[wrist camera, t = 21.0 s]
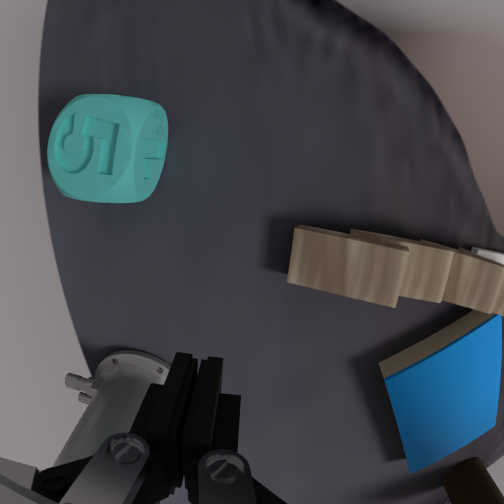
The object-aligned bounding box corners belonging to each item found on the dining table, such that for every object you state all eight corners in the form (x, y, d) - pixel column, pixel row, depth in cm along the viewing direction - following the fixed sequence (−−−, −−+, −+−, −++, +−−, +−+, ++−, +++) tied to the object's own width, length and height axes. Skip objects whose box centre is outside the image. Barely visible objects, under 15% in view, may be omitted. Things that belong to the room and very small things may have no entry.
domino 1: (287, 282, 29) (395, 308, 25) (294, 227, 27) (409, 252, 23) (293, 275, 30) (395, 299, 27) (300, 224, 29) (408, 246, 25)
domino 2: (341, 285, 29) (440, 303, 25) (350, 232, 27) (454, 252, 24) (342, 278, 30) (436, 295, 27) (351, 228, 29) (448, 246, 26)
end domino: (466, 292, 29) (516, 297, 29) (478, 249, 28) (527, 259, 28) (457, 286, 31) (508, 291, 31) (468, 245, 30) (518, 255, 30)
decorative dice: (159, 195, 29) (126, 208, 21) (88, 184, 28) (41, 194, 21) (174, 111, 26) (144, 95, 19) (100, 106, 26) (55, 94, 18)
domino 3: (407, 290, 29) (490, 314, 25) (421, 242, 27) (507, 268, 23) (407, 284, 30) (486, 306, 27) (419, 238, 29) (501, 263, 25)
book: (410, 474, 36) (383, 384, 30) (403, 456, 40) (372, 361, 34) (498, 423, 33) (505, 311, 27) (487, 408, 37) (486, 296, 31)
